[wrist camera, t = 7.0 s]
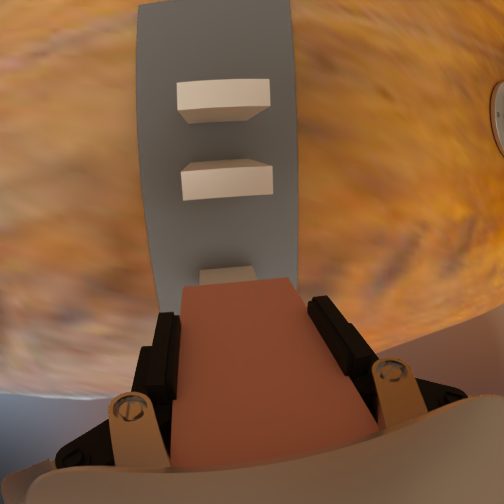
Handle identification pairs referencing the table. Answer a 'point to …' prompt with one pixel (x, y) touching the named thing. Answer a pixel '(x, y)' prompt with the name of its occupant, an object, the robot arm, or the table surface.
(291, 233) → the domino mat
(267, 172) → the domino
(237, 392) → the domino
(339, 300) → the table surface
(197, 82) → the domino
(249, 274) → the domino
